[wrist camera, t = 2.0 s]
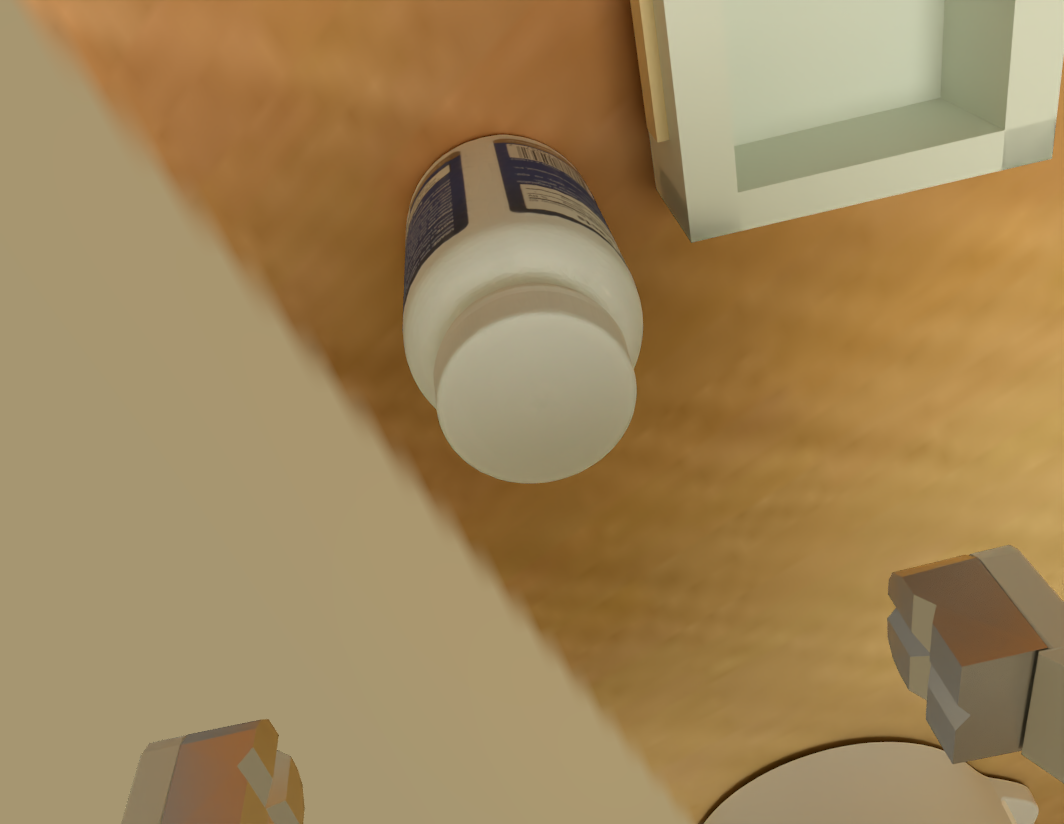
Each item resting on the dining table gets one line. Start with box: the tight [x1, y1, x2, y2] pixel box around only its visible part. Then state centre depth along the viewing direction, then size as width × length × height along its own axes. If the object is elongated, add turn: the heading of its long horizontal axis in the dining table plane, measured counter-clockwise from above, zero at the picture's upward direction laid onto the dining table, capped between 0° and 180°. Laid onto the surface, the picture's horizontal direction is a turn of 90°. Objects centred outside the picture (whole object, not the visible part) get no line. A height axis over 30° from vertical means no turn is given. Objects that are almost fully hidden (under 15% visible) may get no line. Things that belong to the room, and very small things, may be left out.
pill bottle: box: [402, 135, 643, 483], centre depth 22 cm, size 5×5×10 cm
